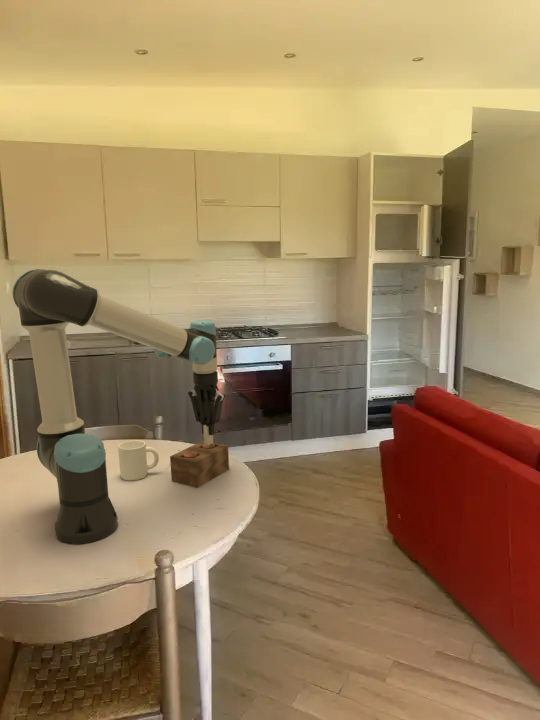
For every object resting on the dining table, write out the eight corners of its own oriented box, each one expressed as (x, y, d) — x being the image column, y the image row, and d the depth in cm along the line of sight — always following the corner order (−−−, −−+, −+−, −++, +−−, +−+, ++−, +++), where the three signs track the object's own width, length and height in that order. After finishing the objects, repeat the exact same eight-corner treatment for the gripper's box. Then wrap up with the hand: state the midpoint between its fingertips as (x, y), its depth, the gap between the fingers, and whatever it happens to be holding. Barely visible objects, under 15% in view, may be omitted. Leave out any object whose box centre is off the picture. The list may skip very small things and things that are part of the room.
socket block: (197, 487, 162) (196, 462, 161) (171, 481, 168) (170, 456, 166) (229, 469, 176) (228, 445, 174) (204, 463, 181) (203, 440, 179)
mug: (159, 468, 178) (157, 437, 176) (160, 478, 170) (158, 446, 168) (120, 472, 176) (118, 441, 174) (120, 482, 168) (117, 450, 166)
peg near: (192, 480, 165) (191, 457, 164) (182, 478, 167) (180, 454, 166) (200, 476, 168) (199, 452, 167) (190, 473, 170) (189, 450, 169)
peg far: (210, 470, 173) (209, 447, 171) (200, 468, 175) (199, 445, 173) (218, 466, 176) (217, 443, 175) (208, 464, 178) (207, 441, 177)
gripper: (229, 370, 169) (232, 443, 174) (196, 366, 176) (199, 437, 180) (214, 375, 163) (218, 451, 167) (180, 371, 170) (185, 444, 174)
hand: (208, 444), depth 174 cm, fingers closed
